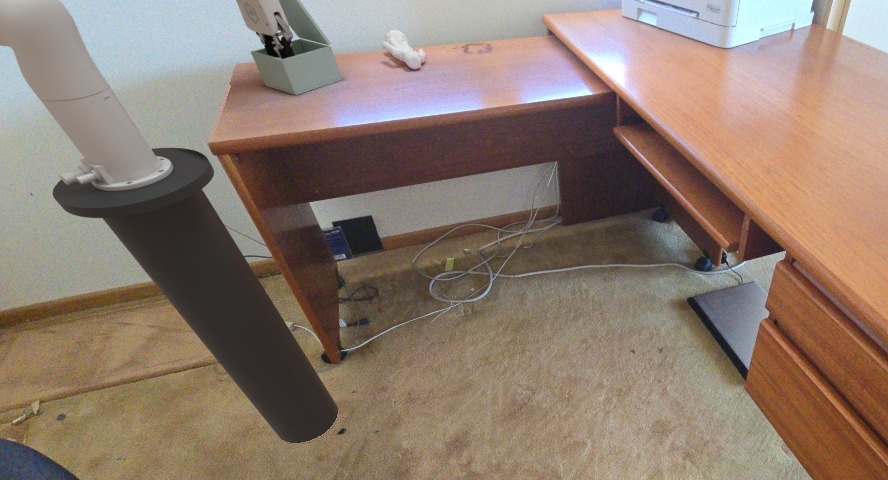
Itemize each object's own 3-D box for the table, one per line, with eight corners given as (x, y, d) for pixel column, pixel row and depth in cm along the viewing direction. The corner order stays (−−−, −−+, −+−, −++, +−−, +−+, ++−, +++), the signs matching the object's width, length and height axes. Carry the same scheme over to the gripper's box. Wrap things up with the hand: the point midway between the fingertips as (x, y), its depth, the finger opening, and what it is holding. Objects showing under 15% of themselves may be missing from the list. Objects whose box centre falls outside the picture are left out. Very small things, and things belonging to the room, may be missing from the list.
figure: (372, 46, 149) (391, 70, 138) (372, 21, 145) (393, 44, 134) (412, 55, 156) (434, 78, 145) (414, 31, 152) (436, 53, 141)
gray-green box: (296, 95, 126) (281, 60, 121) (265, 85, 130) (250, 51, 124) (342, 79, 135) (330, 46, 129) (312, 71, 139) (300, 38, 133)
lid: (285, -15, 116) (300, -29, 118) (252, -22, 120) (267, -35, 121) (329, 45, 129) (342, 32, 131) (298, 37, 133) (311, 24, 134)
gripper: (207, -29, 114) (248, 61, 127) (255, -19, 109) (293, 74, 122) (239, -34, 119) (276, 53, 132) (287, -24, 114) (321, 66, 127)
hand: (284, 62), depth 127 cm, fingers open, 4 cm apart
